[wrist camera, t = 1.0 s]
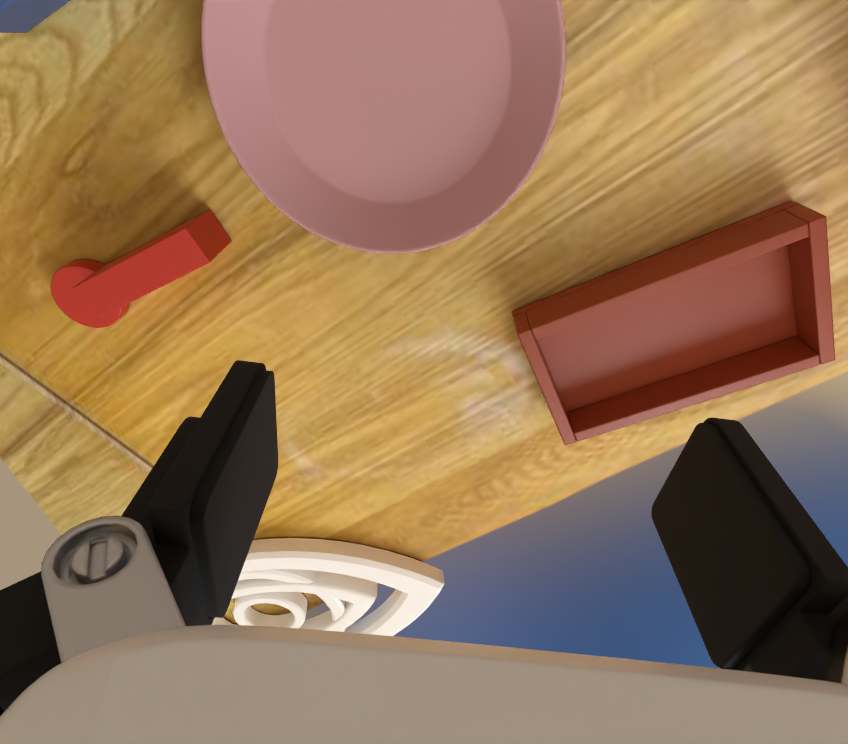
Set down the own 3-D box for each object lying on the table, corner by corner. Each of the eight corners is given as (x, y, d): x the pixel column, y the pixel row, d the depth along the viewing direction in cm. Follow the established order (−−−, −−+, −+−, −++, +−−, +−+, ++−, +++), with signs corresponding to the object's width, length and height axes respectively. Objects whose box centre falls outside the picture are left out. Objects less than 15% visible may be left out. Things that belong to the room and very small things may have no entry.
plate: (345, -280, 17) (334, -315, 15) (629, 51, 21) (645, 52, 20) (162, 102, 23) (140, 107, 21) (412, 294, 28) (411, 310, 26)
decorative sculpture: (470, 609, 43) (470, 627, 42) (197, 681, 51) (191, 698, 50) (379, 493, 36) (377, 510, 35) (80, 598, 44) (69, 615, 43)
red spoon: (96, 329, 30) (63, 356, 27) (47, 275, 28) (7, 299, 25) (243, 256, 27) (222, 279, 24) (198, 191, 25) (171, 208, 23)
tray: (556, 418, 32) (565, 445, 30) (511, 311, 28) (517, 334, 26) (805, 335, 28) (836, 360, 26) (792, 199, 24) (827, 215, 22)
